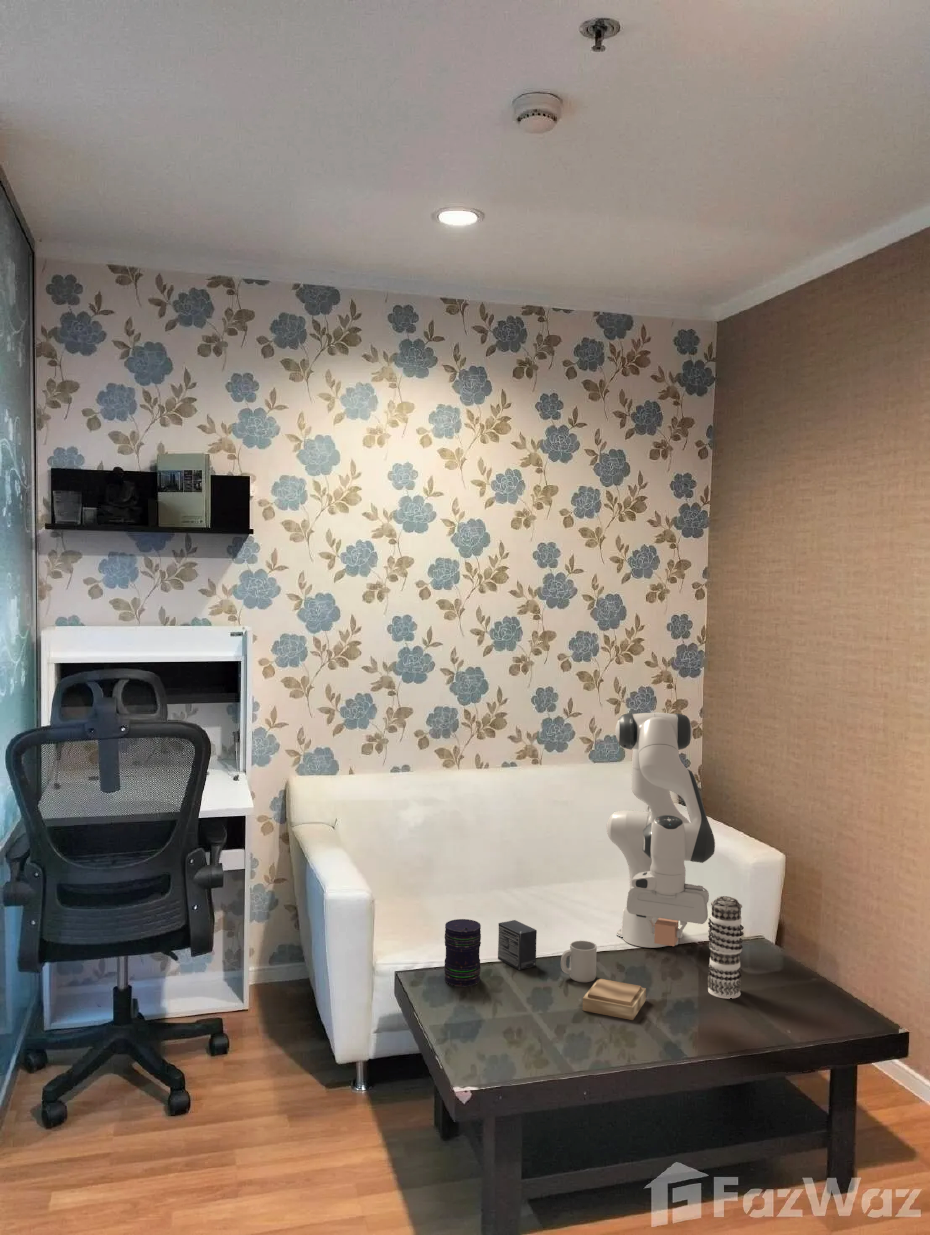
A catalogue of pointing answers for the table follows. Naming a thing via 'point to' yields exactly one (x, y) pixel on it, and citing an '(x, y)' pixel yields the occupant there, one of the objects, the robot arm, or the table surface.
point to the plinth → (614, 999)
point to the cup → (580, 961)
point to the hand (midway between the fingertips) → (666, 935)
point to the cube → (666, 931)
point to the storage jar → (462, 952)
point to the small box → (517, 944)
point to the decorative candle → (725, 948)
